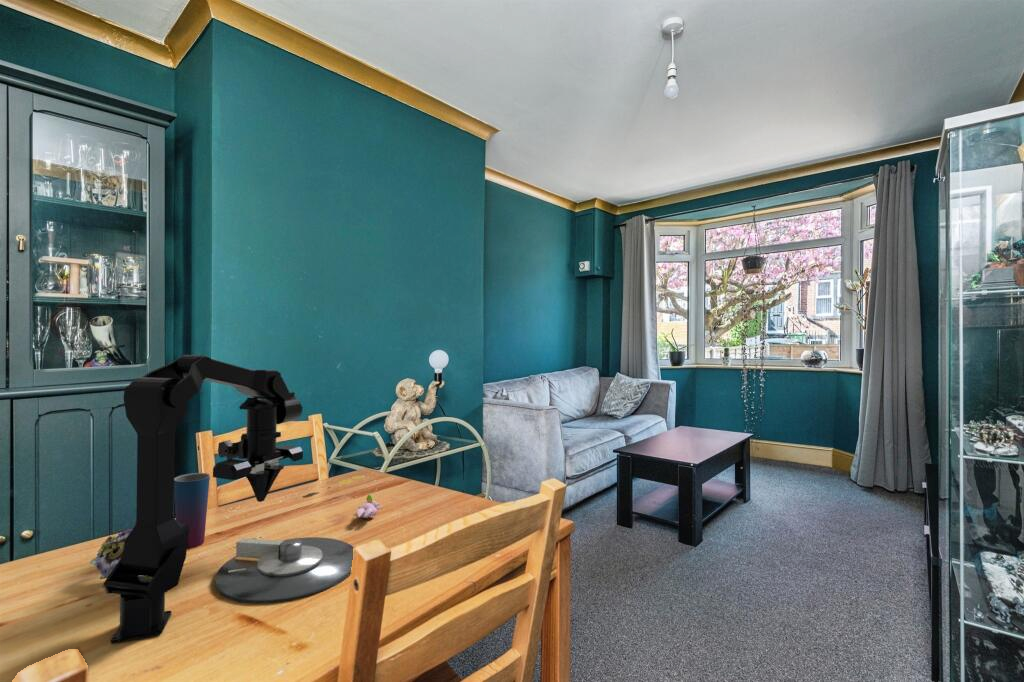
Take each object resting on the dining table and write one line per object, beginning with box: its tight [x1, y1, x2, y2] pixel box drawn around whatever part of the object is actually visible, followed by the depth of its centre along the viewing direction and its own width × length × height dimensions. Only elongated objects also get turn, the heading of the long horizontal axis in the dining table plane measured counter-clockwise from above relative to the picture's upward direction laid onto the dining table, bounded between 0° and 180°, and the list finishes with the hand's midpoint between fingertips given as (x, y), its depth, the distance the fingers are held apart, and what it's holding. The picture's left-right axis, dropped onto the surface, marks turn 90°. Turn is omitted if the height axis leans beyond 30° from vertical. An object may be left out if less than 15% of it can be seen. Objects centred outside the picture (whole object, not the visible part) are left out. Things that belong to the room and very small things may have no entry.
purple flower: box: [355, 493, 383, 519], centre depth 128 cm, size 6×6×15 cm
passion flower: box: [90, 528, 153, 580], centre depth 95 cm, size 11×11×12 cm
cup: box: [174, 472, 211, 549], centre depth 109 cm, size 7×7×15 cm
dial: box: [235, 537, 323, 576], centre depth 99 cm, size 17×12×4 cm
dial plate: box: [214, 536, 355, 604], centre depth 99 cm, size 26×26×1 cm
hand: (260, 501), depth 105 cm, fingers closed
